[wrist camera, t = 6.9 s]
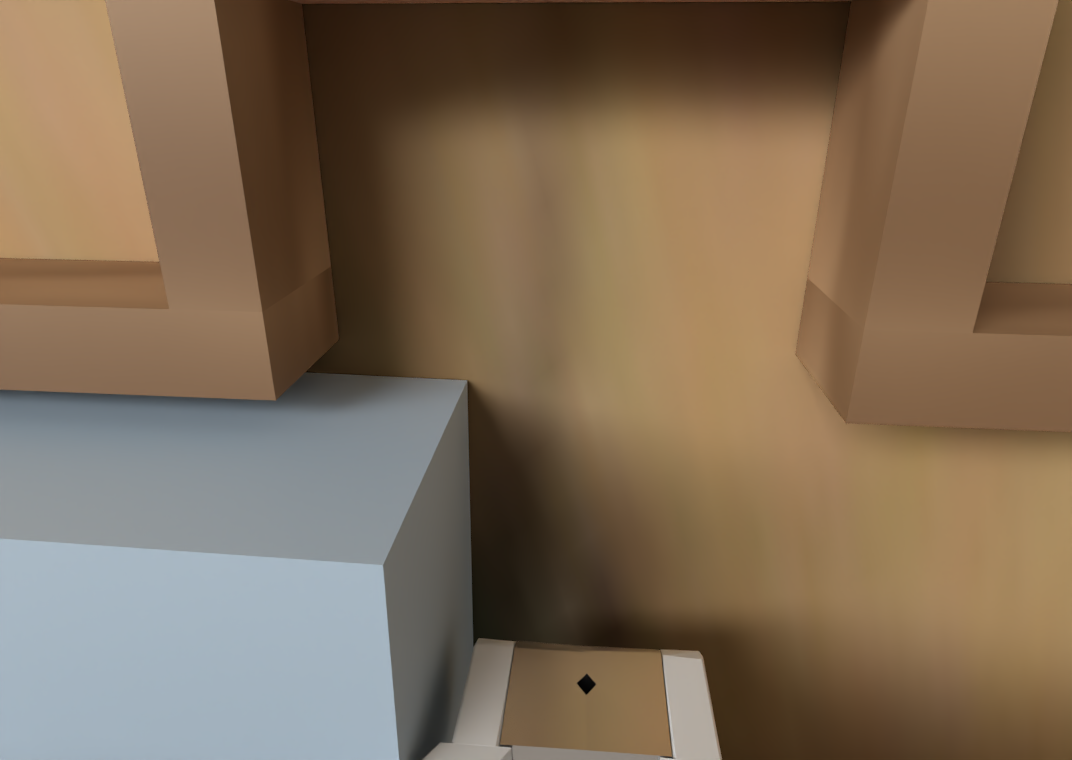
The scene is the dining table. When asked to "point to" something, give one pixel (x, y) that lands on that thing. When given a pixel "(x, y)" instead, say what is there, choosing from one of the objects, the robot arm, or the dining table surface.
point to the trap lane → (279, 35)
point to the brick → (235, 572)
